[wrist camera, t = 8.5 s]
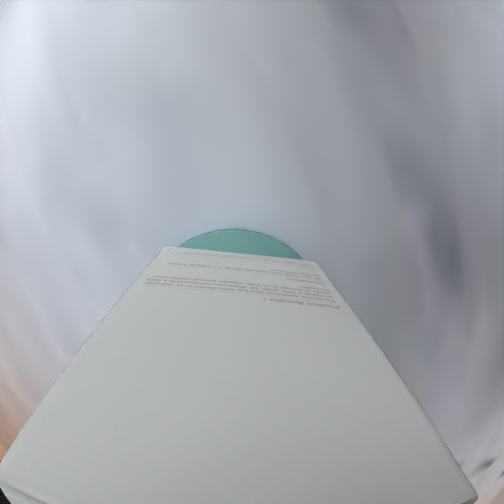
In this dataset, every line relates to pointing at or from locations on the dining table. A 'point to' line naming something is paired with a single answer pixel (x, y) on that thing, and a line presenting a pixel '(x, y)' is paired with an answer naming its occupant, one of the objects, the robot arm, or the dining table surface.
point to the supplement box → (231, 399)
